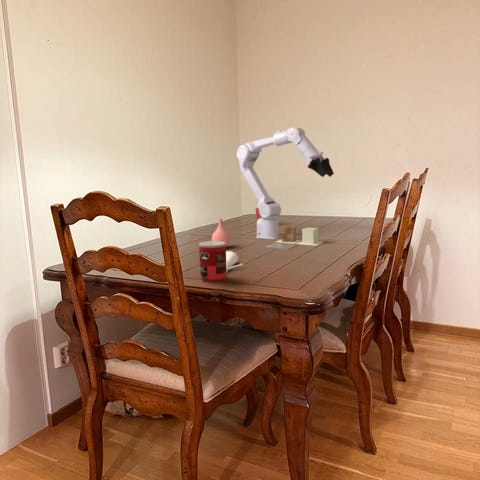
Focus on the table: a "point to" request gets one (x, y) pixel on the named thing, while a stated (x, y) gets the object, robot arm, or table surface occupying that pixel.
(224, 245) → the canned food
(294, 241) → the plain tile
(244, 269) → the table surface
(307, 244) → the tile
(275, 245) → the light grey square plate
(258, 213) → the flower pot
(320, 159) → the robot arm
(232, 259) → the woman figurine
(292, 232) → the walnut block
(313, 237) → the sage block
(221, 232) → the perfume bottle
